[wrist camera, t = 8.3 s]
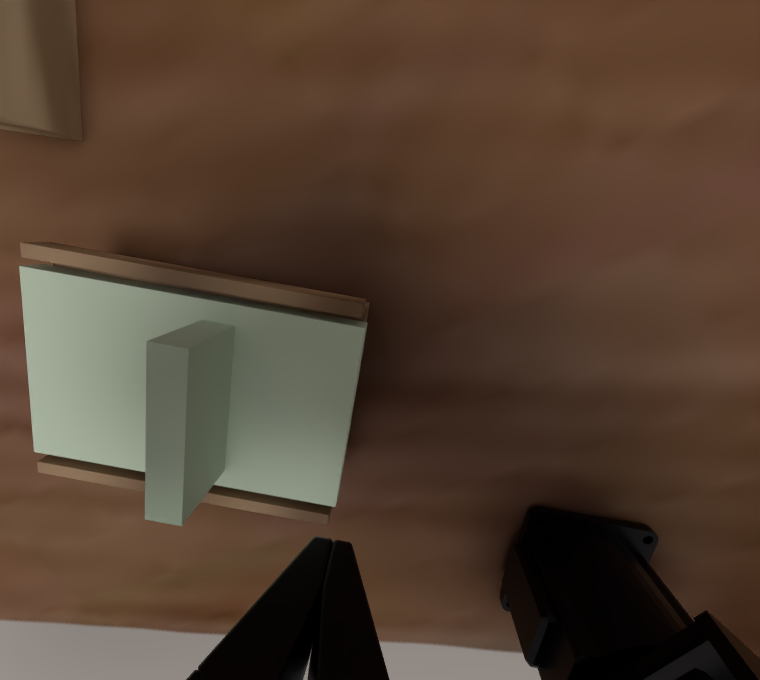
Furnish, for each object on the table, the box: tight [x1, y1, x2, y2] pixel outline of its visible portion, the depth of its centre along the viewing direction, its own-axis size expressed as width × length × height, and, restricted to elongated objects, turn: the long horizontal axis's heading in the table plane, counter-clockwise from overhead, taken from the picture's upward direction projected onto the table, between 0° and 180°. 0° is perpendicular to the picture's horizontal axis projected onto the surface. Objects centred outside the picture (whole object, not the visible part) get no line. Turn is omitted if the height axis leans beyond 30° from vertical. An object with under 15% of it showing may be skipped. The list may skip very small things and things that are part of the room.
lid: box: [19, 264, 368, 526], centre depth 13 cm, size 12×8×4 cm, turn 80°
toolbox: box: [20, 242, 370, 525], centre depth 16 cm, size 12×9×4 cm
